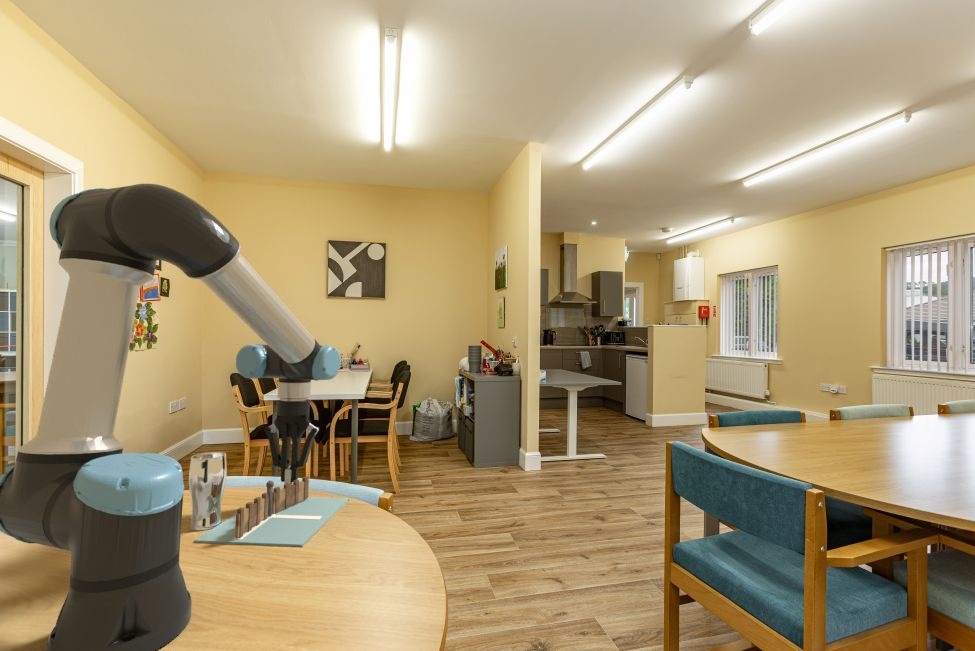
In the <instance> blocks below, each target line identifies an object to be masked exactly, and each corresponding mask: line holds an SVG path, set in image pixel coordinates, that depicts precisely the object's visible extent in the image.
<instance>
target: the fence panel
mask: <svg viewBox="0 0 975 651" xmlns="http://www.w3.org/2000/svg"><path fill="white" fill-rule="evenodd" d="M301 478H302V479H301V480H299V479H297V480H294V481H293V485H291V486H290V484H288V483H286V484H283V488H281V487H279V486H276V487H273V497H272V513H276V512H278V511H280V510H282V509H284V508H287V507H289V506H291V505H293V504H296V503H298V502H300V501H302V500H305V499H307V498H308V497H309V485H310V479H309V476H303V477H301Z"/></svg>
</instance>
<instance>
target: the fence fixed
mask: <svg viewBox="0 0 975 651" xmlns="http://www.w3.org/2000/svg"><path fill="white" fill-rule="evenodd" d="M265 486H266V492H263V493H262V494H261V497H259V496H258V497H255V498H254V499H253V502H252V501H248V502H247V503H245V507H239V508H237V509H236V514H235V515H236V527H235V538H241V537H242V536H243V534H244V533H245V532H249V531H251V530H252V527H254V526H258V525H259V524H260V522H261V521H262V520H266V519H267V517H270V516H272V497H273V491H274V486H275V482H274V481H273V480H267V482H266V485H265Z"/></svg>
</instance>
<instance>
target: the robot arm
mask: <svg viewBox="0 0 975 651" xmlns="http://www.w3.org/2000/svg"><path fill="white" fill-rule="evenodd" d="M48 225H49V232H50V236H51V239H52V240H53V241H55V243H56V246H57V248H58V249H59V250H60V254H59V256H58V258H59V259H58V262H57V263H58V264H59V266H60V267H61V268H62V269H63V270H64V271H65V272H66V273H67V274H68V276H69V279H68V283H67V289H66V294H65V298H64V302H63V308H62V311H61V317H60V321H59V327H58V331H57V335H56V341H55V346H54V349H53V350H54V351H53V355H52V360H51V365H50V369H49V372H48V373H49V374H48V378H47V379H48V380H47V382H46V383H47V384H46V388H45V393H44V398H43V403H42V407H41V413H40V417H39V422H38V428H37V432H36V435H35V436H34V437H33V438H31V439H30V440H29V441H27V442H25V443H24V444H23V445H21V446H20V447H18V451H17V453H16V458H15V463H14V465H12V466H10V467H9V469H8V470H7V471H6V472H5V473H2V474H1V475H0V532H1V533H3V534H5V535H7V536H9V537H12V538H14V539H15V540H16V541H19V542H23V543H26V544H37V545H41V546H46V547H51V548H56V549H60V550H64V551H69V552H71V555H70V557H71V559H70V560H71V561H70V576H69V578H70V579H69V580H70V581H69V589H68V593H67V595H66V597H65V600H64V602H63V604H62V607H61V609H60V612H59V614H58V617H57V619H56V622H55V625H54V627H53V628H52V630H51V632H50V634H49V636H48V639H47V644H46V651H155V650H156V651H158V650H159V649H161V648H163V647H164V646H166V645H167V644H169V643H170V642H172V641H173V640H174V639H175V638H177V637H178V636H179V635H180V634H181V633H182V632H183V631H184V630H185V629H186V627H188V624H189V623H190V620H191V618H192V605H193V604H192V603H193V601H192V596H191V594H190V592H189V590H188V589H187V584H186V582H185V579H184V575H183V572H182V569H181V565H180V554H181V553H180V552H181V551H180V549H181V535H182V534H181V533H182V520H183V518H182V517H183V504H184V503H183V501H184V492H185V485H184V477H183V476H184V475H183V468H182V465H181V464H180V463H179V461H178V460H176V459H175V458H173V457H171V456H167V455H165V454H164V455H163V454H160V453H152V452H145V453H139V452H123V451H124V444H123V443H122V442H121V441H120V440H119V439H118V438H117V437H116V436H115V435H114V433H115V426H116V421H117V417H118V412H119V406H120V400H121V393H122V389H123V383H124V376H125V371H126V368H127V361H128V356H129V350H130V344H131V339H132V332H133V327H134V324H135V323H134V322H135V318H136V311H137V306H138V301H139V296H140V295H139V294H140V290H141V288H142V286H144V285H147V284H148V283H149V282H151V281H153V280H154V278H155V277H154V276H155V271H156V265H157V261H163V262H166V263H169V264H171V265H173V266H175V267H177V268H178V269H179V270H180V271H182V272H183V273H184V274H185V276H187V277H188V278H189V279H192V280H201V282H202V283H203V284H204V285H205V286H206V287H207V288H208V289H209V290H211V292H213V293H214V294H215V296H217V298H219V299H220V300H221V302H223V303H224V304H225V305H226V306H227V307H228V308H229V310H232V312H233V313H234V314H235V315H237V317H238V318H239V319H240V320H241V321H243V323H244V324H246V326H248V327H249V329H250V330H252V331H253V332H254V333H255V334H256V335H257V336H258V337H259V338H260V339H261V340H262V341H263V342H264V343H265V344H262V343H261V344H260V343H255V344H247V345H244V346H243V347H241V348H240V349H239V350H238V352H237V354H236V356H235V368H236V370H237V372H238V373H239V375H240V376H242V377H243V378H246V379H256V380H258V379H260V378H261V379H262V378H265V379H278V383H277V384H278V385H277V386H278V387H277V398H278V400H277V402H276V418H275V419H274V422H273V423H272V424H270V425H269V426H266V427H264V428H263V429H264V432H265V434H266V436H267V438H268V442H269V443H268V444H269V448H270V453H271V458H272V464H273V466H274V467H278V468H280V470H281V471H280V482H281V483H284V484H286V483H288V484H290V486H291V485H293V481H294V480H299V468H302V467H303V466H305V465H306V464H307V463H308V460H309V456H310V453H311V450H312V447H313V443H314V440H315V437H316V435H317V434H318V432H320V427H319V426H315V425H314V424H312V423H311V422H312V421H311V418H310V409H311V408H310V406H311V405H310V404H311V401H310V399H309V398H311V388H312V381H329V380H333V379H334V378H335V377H336V376H338V374H339V371H340V369H341V365H342V358H341V353H340V352H339V350H338V349H337V347H334V346H332V345H327V344H323V345H321V344H319V342H318V341H317V340H316V339H315V338H314V336H313V335H312V334H311V333H310V332H309V330H307V328H306V327H305V326H304V325H303V323H301V321H300V320H299V319H298V318H297V317H296V316H295V314H293V312H292V311H291V310H290V309H289V307H288V306H287V305H286V304H285V303H284V302H283V301H282V300H281V298H280V297H279V296H278V295H277V294H276V292H274V290H273V288H271V287H270V286H269V285H268V284H267V282H266V281H265V280H264V279H263V278H262V276H261V275H260V274H259V273H258V272H257V271H256V270H255V268H254V267H253V266H252V265H251V264H250V263H249V261H247V259H246V258H245V257H244V256H243V255H242V254H241V252H240V251H241V243H240V242H239V241H238V239H237V238H236V237H235V236H234V235H233V233H232V232H230V230H229V229H228V228H227V227H226V226H225V225H224V224H223V223H222V222H221V221H220V220H219V219H218V218H217V217H216V216H214V215H213V214H212V213H211V212H210V211H208V209H206V208H205V207H204V206H202V205H201V204H199V203H198V202H197V201H195V200H194V199H192V198H191V197H189V196H188V195H185V194H184V193H182V192H180V191H178V190H175V189H174V188H172V187H168V186H166V185H160V184H156V183H137V184H133V185H132V184H131V185H125V186H120V187H119V186H118V187H111V188H105V187H104V188H99V187H98V188H91V189H86V190H82V191H79V192H77V193H74V194H71V195H69V196H67V197H65V198H64V199H62V200H61V201H59V203H58V204H57V205H56V206H55V207H54V209H52V212H51V214H50V217H49V224H48ZM306 430H307V432H306ZM277 432H279V434H280V435H281V446H280V441H279V437H278V433H277ZM305 432H306V433H307V436H306V439H305V442H304V445H303V449H302V451H301V446H302V445H301V444H302V438H303V434H305ZM284 484H283V485H284ZM177 635H178V636H177ZM172 639H173V640H172ZM168 642H169V643H168ZM160 647H161V648H160Z"/></svg>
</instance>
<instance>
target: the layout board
mask: <svg viewBox="0 0 975 651" xmlns="http://www.w3.org/2000/svg"><path fill="white" fill-rule="evenodd" d="M349 499H350V498H349V497H348V498H345V497H342V498H341V497H322V496H321V497H318V496H317V497H314V496H313V497H312V496H311V497H310V496H308V498H307V499H305V500H302V501H300V502H298V503H296V504H293V505H291V506H289V507H287V508H284V509H282V510H280V511H278V512H276V513H272V516H270V517H267V519H266V520H262V521H261V522H260V524H259V525H258V526H254V527H252V530H251V531H249V532H245V533H244V534H243V536H242V537H241V538H235V527H236V514H234V515H233V516H231V517H229V518H227V519H226V520H223V521H222V523H221V524H220V525H218V526H216V527H215V528H212V529H209V531H208V530H207V532H205V533H203V534H202V535H201V536H198V538H195V539H194V541H193V542H194V543H200V544H201V543H203V544H222V545H223V544H226V545H227V544H228V545H247V546H248V545H249V546H276V547H277V546H278V547H300V548H301V547H302V548H303V547H304V546H305V545H306V544H307V543H308V542H309V541H310V540H311V539H312V538H313V537H314V536H315V535H316V534H317V533H318V532H319V531H320V530H321V529H322V528H323V527H325V525H326V524H327V523H328V522H329V521H330V520H331V519H332V518H333V517H335V515H336V514H337V513H338V512H339V511H340V510H341V509H342V508H343V507H344V506H345V505H347V503H348V502H349V501H350V500H349ZM348 500H349V501H348Z"/></svg>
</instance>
